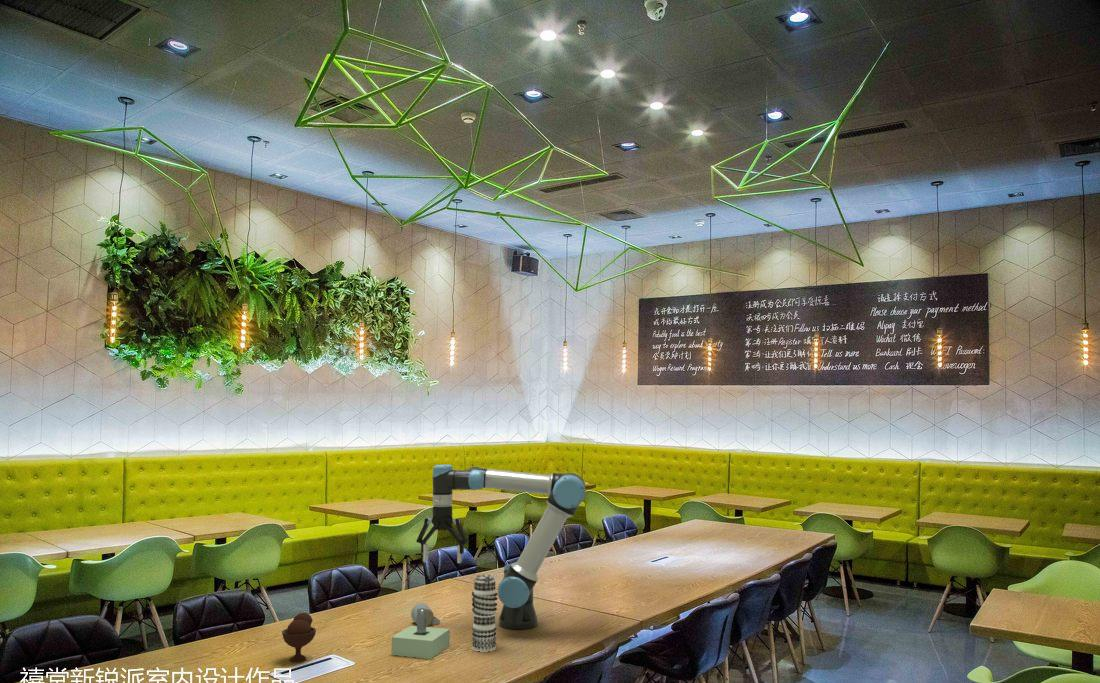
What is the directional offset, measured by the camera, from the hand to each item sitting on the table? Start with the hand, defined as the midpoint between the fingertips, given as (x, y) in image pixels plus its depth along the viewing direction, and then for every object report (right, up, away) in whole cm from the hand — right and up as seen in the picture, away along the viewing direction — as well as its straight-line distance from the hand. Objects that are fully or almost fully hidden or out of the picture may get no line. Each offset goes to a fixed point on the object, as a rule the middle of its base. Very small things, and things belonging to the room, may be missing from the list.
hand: (442, 562), depth 294 cm
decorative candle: (+18, -24, -22) cm, 37 cm away
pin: (-4, -24, -25) cm, 35 cm away
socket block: (-4, -24, -25) cm, 35 cm away
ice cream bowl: (-43, -23, -36) cm, 61 cm away
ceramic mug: (-8, -27, +8) cm, 29 cm away
